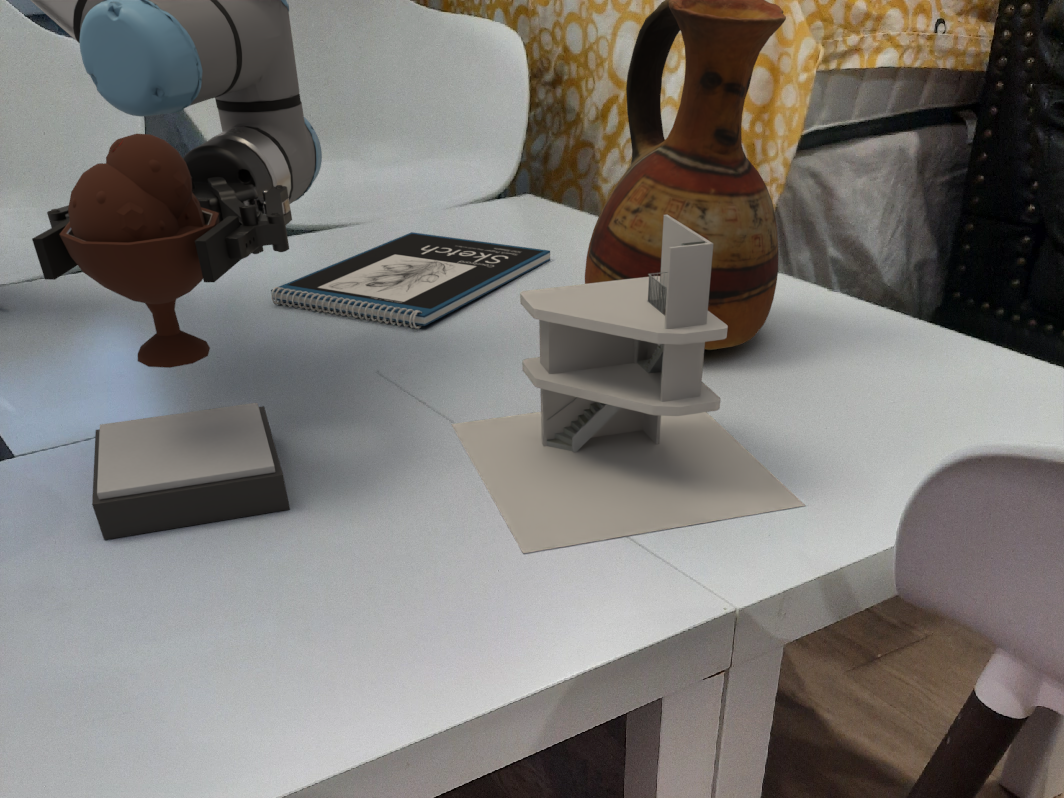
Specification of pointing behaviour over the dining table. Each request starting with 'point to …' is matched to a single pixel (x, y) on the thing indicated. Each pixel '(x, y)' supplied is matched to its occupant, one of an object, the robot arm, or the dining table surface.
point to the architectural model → (621, 414)
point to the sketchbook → (410, 279)
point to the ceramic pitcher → (696, 162)
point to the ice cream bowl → (142, 237)
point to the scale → (185, 470)
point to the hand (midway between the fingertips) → (123, 260)
